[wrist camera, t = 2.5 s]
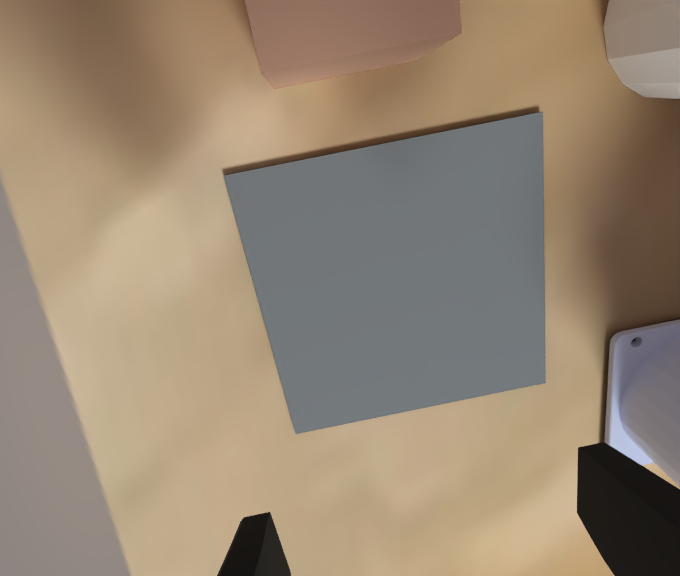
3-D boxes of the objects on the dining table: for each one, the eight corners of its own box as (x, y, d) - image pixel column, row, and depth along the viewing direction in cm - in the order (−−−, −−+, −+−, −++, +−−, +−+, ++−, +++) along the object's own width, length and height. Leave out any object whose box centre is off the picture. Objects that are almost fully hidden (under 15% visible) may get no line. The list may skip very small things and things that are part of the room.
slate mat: (540, 112, 16) (543, 111, 16) (543, 380, 20) (545, 382, 20) (224, 175, 16) (223, 175, 16) (295, 431, 20) (295, 434, 20)
